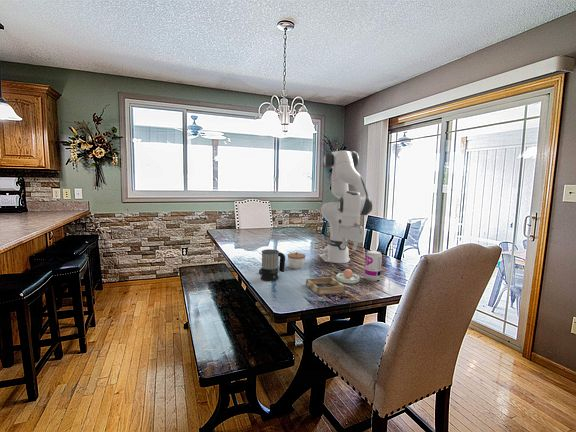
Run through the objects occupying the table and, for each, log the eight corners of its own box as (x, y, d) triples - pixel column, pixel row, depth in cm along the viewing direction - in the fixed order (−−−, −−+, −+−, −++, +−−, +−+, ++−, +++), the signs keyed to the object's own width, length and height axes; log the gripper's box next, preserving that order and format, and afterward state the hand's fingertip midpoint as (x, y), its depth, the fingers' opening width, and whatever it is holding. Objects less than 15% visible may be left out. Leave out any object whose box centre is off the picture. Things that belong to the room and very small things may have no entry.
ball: (341, 277, 161) (341, 268, 160) (349, 276, 162) (349, 267, 162) (346, 280, 156) (346, 270, 156) (354, 279, 158) (354, 269, 157)
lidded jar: (298, 271, 172) (298, 255, 171) (283, 267, 178) (284, 252, 177) (308, 267, 180) (309, 252, 179) (294, 264, 187) (294, 249, 186)
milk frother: (270, 282, 150) (271, 254, 148) (247, 276, 159) (248, 249, 158) (287, 276, 162) (288, 249, 160) (264, 270, 171) (265, 245, 169)
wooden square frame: (306, 284, 149) (306, 278, 149) (331, 282, 154) (331, 276, 153) (318, 294, 136) (318, 288, 136) (344, 292, 141) (345, 286, 140)
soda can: (369, 282, 157) (371, 254, 155) (361, 277, 165) (363, 250, 163) (383, 281, 159) (385, 253, 158) (374, 276, 167) (376, 250, 165)
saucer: (332, 277, 163) (332, 273, 163) (351, 275, 167) (351, 272, 167) (343, 284, 152) (343, 280, 151) (363, 282, 156) (364, 278, 155)
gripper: (367, 225, 147) (365, 252, 149) (346, 219, 166) (344, 243, 168) (356, 225, 145) (354, 253, 147) (336, 219, 164) (334, 244, 166)
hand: (349, 248), depth 157 cm, fingers open, 8 cm apart
